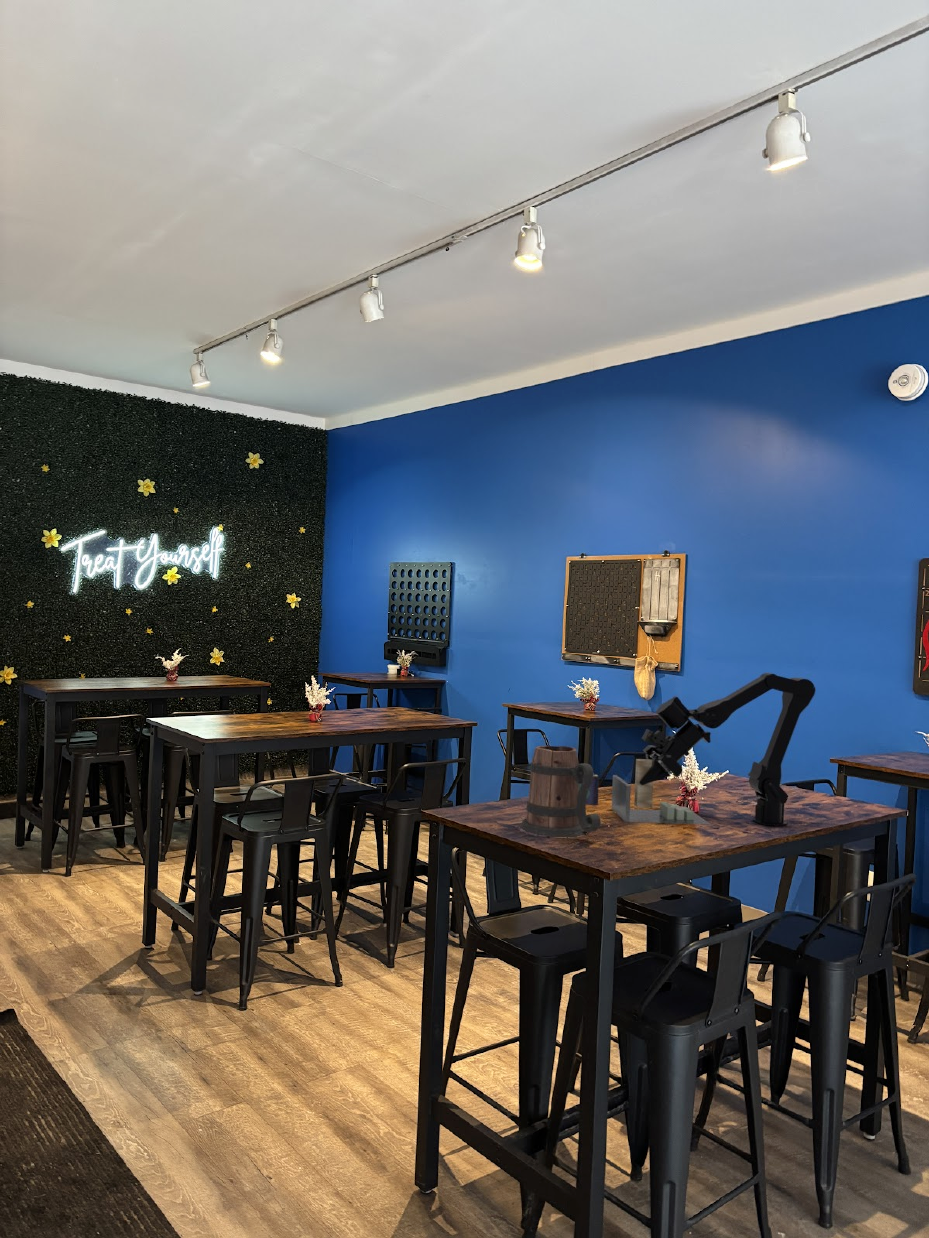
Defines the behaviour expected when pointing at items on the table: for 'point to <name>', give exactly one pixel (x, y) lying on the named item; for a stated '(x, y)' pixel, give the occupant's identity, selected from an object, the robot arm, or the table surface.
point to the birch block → (643, 791)
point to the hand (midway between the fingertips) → (638, 782)
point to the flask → (592, 791)
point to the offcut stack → (675, 812)
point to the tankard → (559, 794)
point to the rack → (622, 808)
